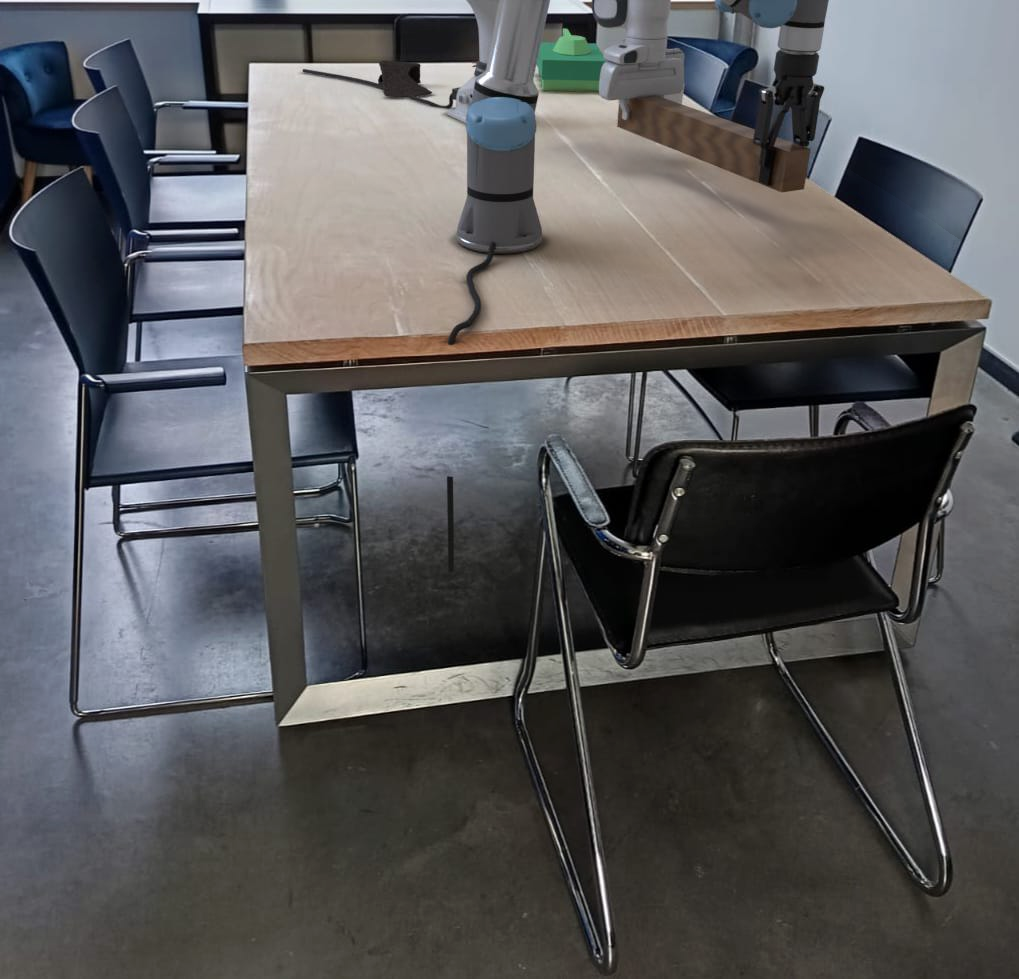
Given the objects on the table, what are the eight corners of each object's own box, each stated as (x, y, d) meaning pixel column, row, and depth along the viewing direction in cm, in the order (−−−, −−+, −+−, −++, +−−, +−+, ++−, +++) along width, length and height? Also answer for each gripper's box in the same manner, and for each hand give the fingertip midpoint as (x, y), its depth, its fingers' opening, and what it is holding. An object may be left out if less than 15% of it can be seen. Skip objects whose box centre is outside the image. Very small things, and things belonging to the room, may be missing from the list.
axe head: (443, 87, 294) (392, 77, 287) (436, 115, 299) (385, 106, 292) (421, 62, 307) (371, 52, 300) (414, 89, 311) (365, 80, 304)
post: (804, 189, 204) (811, 148, 200) (781, 192, 201) (788, 151, 197) (637, 124, 244) (640, 89, 241) (616, 126, 242) (619, 91, 238)
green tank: (593, 25, 326) (608, 46, 296) (591, 69, 332) (604, 93, 302) (534, 24, 325) (543, 45, 295) (533, 67, 331) (541, 92, 301)
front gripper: (822, 44, 200) (801, 171, 212) (743, 50, 192) (725, 181, 204) (852, 51, 195) (827, 181, 207) (772, 57, 187) (751, 192, 199)
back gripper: (676, 44, 238) (669, 110, 245) (597, 51, 229) (592, 118, 237) (693, 49, 233) (686, 116, 241) (613, 56, 225) (608, 125, 232)
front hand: (777, 181), depth 206 cm, fingers closed on post, 5 cm apart
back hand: (639, 117), depth 239 cm, fingers closed on post, 5 cm apart
